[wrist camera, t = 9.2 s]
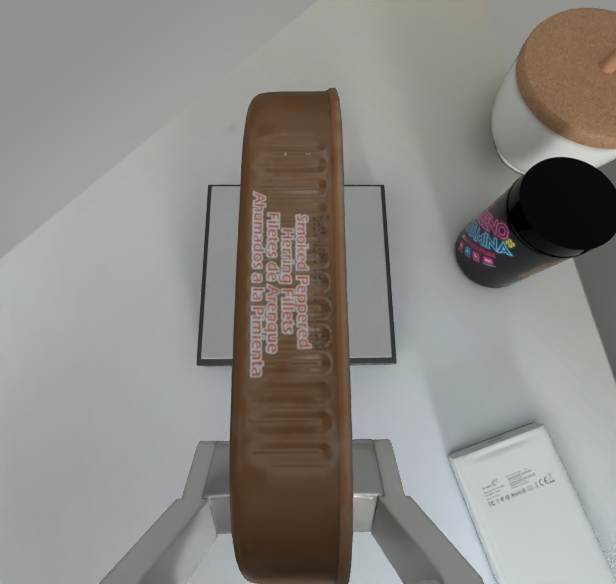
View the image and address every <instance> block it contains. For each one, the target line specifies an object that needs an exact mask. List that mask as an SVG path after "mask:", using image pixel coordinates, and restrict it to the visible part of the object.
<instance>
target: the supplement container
mask: <svg viewBox="0 0 616 584" xmlns="http://www.w3.org/2000/svg"><path fill="white" fill-rule="evenodd" d="M615 233H616V189H615V187H614V186H613V184H612V183H611V181H610V180H609V179H608V178H607V177H606V176H605V175H604V174H603V173H602V172H601V171H599V170H598V169H597V168H595V167H594V166H592V165H590V164H588V163H586V162H584V161H581V160H578V159H574V158H569V157H553V158H548V159H545V160H542V161H540V162H538V163H537V164H535V165H534V166H532V167H531V168H530V169H529V170H528V171H527V172H526V173H525V174H523V175H522V176H521V177H520V178H518V179H517V180H516V181H515V182H514V183H513V185H512V186H511V187H510V188H509V189H508V190H507V191H505V192H504V193H503V194H502V195H501V196H500V197H499V198H498V199H497V200H496V201H494V202H493V203H492V204H491V205H490V206H489V207H488V208H487V209H486V210H485V211H483V212H482V213H481V214H480V215H479V216H478V217H477V218H476V219H475V220H474V221H472V222H471V223H470V224H469V225H468V226H467V227H466V228H465V229H464V230H463V231H462V232H461V234H460V235H459V237H458V239H457V243H456V258H457V262H458V264H459V266H460V268H461V270H462V271H463V272H464V274H465V275H466V276H467V277H468V278H470V279H471V280H472V281H474V282H476V283H477V284H480V285H482V286H486V287H491V288H501V287H506V286H509V285H511V284H513V283H516V282H518V281H520V280H522V279H525V278H527V277H529V276H532V275H534V274H536V273H538V272H541V271H543V270H545V269H547V268H550V267H552V266H554V265H557V264H559V263H561V262H563V261H566V260H568V259H570V258H573V257H577V256H579V255H582V254H584V253H586V252H587V251H590V250H592V249H594V248H596V247H598V246H601V245H603V244H605V243H606V242H608V241H609V240H610V239H611V238H612V237H613V236H614V235H615Z"/></svg>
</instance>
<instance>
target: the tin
mask: <svg viewBox="0 0 616 584" xmlns="http://www.w3.org/2000/svg"><path fill="white" fill-rule="evenodd" d="M229 485H230V514H231V532H232V538H233V544H234V551H235V557H236V561H237V564H238V567H239V570H240V571H241V573H242V575H243V576H244V578H245V579H246V580H247V581H249V582H252V583H257V584H348V583H349V578H350V572H351V571H350V569H351V559H352V556H351V555H352V538H353V496H354V495H353V451H352V421H351V386H350V351H349V325H348V301H347V267H346V240H345V204H344V171H343V138H342V120H341V110H340V102H339V96H338V93H337V90H336V88H330V89H328V90H327V91H316V92H267V93H261V94H259V95H257V96H255V97H254V99H253V100H252V102H251V103H250V105H249V108H248V112H247V117H246V123H245V130H244V137H243V150H242V164H241V185H240V204H239V219H238V242H237V260H236V284H235V309H234V329H233V364H232V391H231V423H230V450H229Z"/></svg>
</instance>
